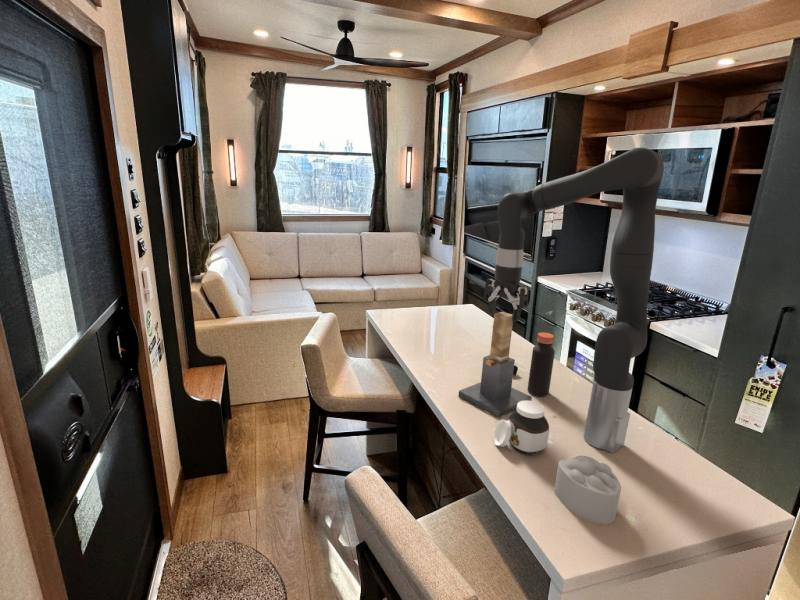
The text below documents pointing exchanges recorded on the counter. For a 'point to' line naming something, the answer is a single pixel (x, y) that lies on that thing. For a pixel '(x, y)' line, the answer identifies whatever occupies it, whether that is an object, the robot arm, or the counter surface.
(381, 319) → the counter surface
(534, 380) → the bottle
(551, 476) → the counter surface
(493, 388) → the metal sleeve stand
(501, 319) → the oak post
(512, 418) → the spread jar
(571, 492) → the lumpy-topped squat cylinder
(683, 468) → the counter surface
